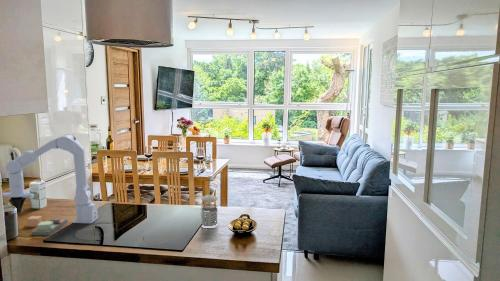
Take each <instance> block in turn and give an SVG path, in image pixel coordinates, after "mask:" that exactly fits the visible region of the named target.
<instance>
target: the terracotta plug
mask: <svg viewBox="0 0 500 281" xmlns="http://www.w3.org/2000/svg"><path fill="white" fill-rule="evenodd" d="M43 219H44V218H43V215H31V216H29V217H27V218H26V226H27V227H28V228H29V227H32V228H34V227H35V228H38V224H39V223H40V222H44V221H43Z"/></svg>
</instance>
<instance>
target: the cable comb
mask: <svg viewBox="0 0 500 281" xmlns="http://www.w3.org/2000/svg"><path fill="white" fill-rule="evenodd" d="M49 221H53V226H52V227H50V230H49V231H38V230H32V231H31V235H32V236H51V235H52V234H53V233H55V232H56V231H57V230H59V229H61V228H62V227H64V226H65V225H66V224H67V223H68V219H65V218H63V219H60V218H59V219H58V218H51V219H49Z"/></svg>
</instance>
